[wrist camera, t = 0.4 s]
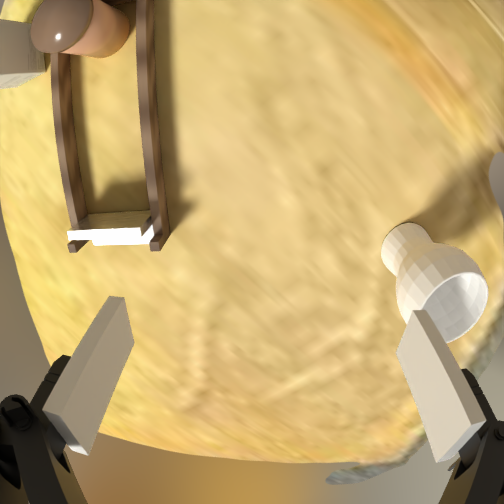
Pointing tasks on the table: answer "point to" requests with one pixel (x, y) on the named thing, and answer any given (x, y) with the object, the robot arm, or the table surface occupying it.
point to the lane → (147, 123)
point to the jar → (79, 28)
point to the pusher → (114, 228)
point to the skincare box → (18, 55)
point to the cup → (435, 280)
